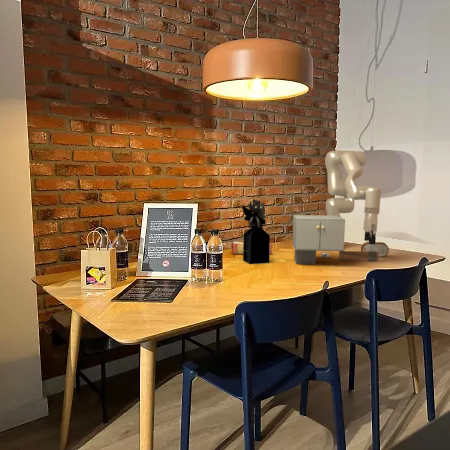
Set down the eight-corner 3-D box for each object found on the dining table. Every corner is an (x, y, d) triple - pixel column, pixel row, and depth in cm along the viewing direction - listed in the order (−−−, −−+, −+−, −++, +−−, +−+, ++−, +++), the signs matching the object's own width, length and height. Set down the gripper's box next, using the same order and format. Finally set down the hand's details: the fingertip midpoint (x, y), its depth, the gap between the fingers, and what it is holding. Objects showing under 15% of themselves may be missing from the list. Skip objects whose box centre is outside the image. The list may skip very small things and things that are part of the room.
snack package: (270, 253, 253) (270, 241, 252) (271, 255, 246) (272, 243, 246) (231, 253, 253) (232, 240, 252) (232, 255, 246) (232, 242, 245)
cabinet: (292, 258, 237) (293, 215, 234) (336, 259, 235) (338, 215, 232) (295, 266, 218) (296, 219, 215) (343, 267, 216) (345, 219, 213)
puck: (319, 256, 244) (319, 251, 244) (327, 256, 245) (327, 252, 245) (322, 257, 239) (323, 253, 239) (331, 258, 240) (331, 253, 240)
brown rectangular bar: (339, 260, 234) (339, 250, 234) (376, 260, 233) (377, 251, 232) (339, 261, 232) (340, 251, 231) (377, 261, 231) (378, 252, 230)
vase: (245, 265, 219) (246, 196, 215) (237, 260, 230) (238, 194, 226) (271, 263, 224) (272, 196, 219) (262, 259, 235) (264, 194, 230)
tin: (387, 256, 245) (388, 242, 244) (389, 257, 242) (389, 242, 241) (360, 255, 247) (361, 241, 246) (361, 257, 244) (362, 242, 243)
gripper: (360, 208, 238) (358, 239, 240) (368, 212, 220) (366, 245, 223) (374, 208, 237) (372, 239, 240) (383, 213, 220) (381, 245, 223)
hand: (369, 242), depth 231 cm, fingers open, 9 cm apart
